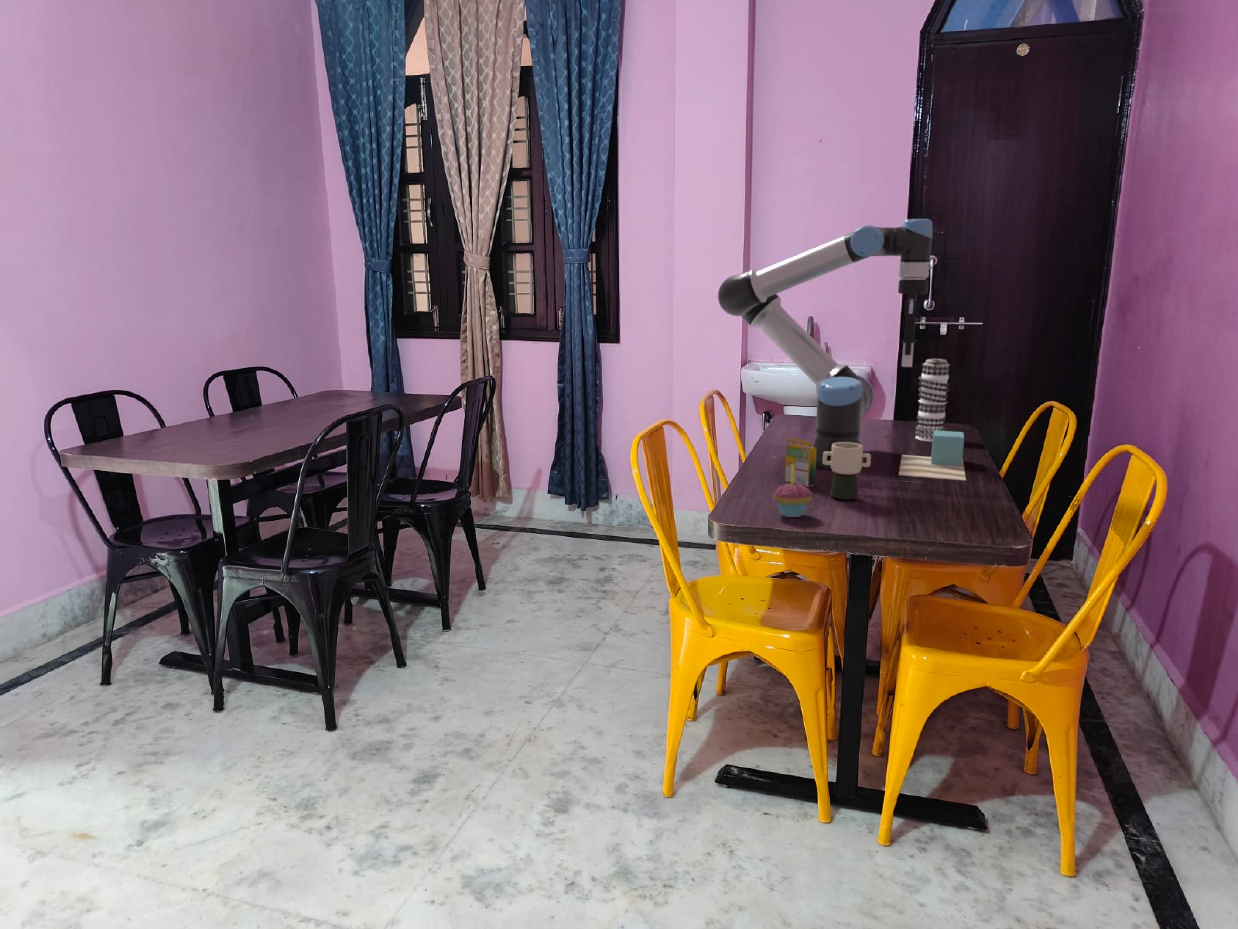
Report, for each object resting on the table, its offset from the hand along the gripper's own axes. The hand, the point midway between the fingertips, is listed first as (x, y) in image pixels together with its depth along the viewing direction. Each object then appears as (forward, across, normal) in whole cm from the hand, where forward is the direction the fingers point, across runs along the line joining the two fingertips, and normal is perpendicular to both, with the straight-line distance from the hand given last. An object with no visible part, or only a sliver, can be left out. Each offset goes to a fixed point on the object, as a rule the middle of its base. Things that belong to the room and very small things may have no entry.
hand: (906, 366), depth 232 cm
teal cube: (+25, -5, -12) cm, 28 cm away
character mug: (+27, -46, +11) cm, 54 cm away
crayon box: (+27, -36, +23) cm, 50 cm away
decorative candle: (+27, +32, -8) cm, 43 cm away
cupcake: (+27, -63, +20) cm, 72 cm away
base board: (+26, -12, -9) cm, 30 cm away
